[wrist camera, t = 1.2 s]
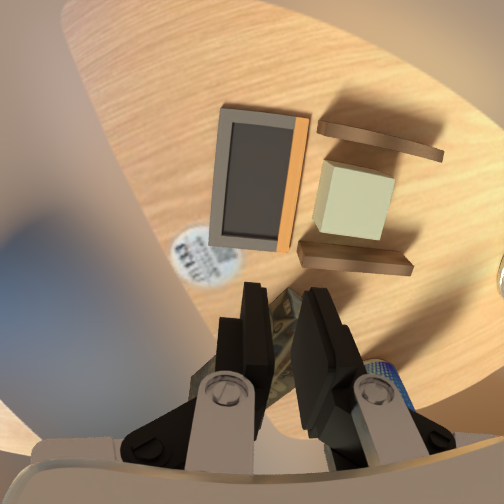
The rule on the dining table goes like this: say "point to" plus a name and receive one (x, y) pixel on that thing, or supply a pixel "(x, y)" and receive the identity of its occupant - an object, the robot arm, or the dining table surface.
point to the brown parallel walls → (358, 256)
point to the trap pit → (256, 179)
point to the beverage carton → (283, 331)
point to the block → (352, 200)
